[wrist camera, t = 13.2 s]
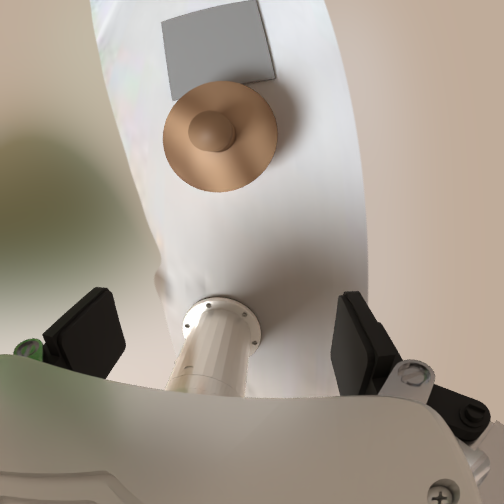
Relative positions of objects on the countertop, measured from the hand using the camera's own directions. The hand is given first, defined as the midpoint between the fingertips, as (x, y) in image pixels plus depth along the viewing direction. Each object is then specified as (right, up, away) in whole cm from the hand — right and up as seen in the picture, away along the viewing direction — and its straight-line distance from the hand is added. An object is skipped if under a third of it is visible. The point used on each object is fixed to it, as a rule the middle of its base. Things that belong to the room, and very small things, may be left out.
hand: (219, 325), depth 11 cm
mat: (-4, +31, +20) cm, 37 cm away
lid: (-2, +16, +19) cm, 25 cm away
